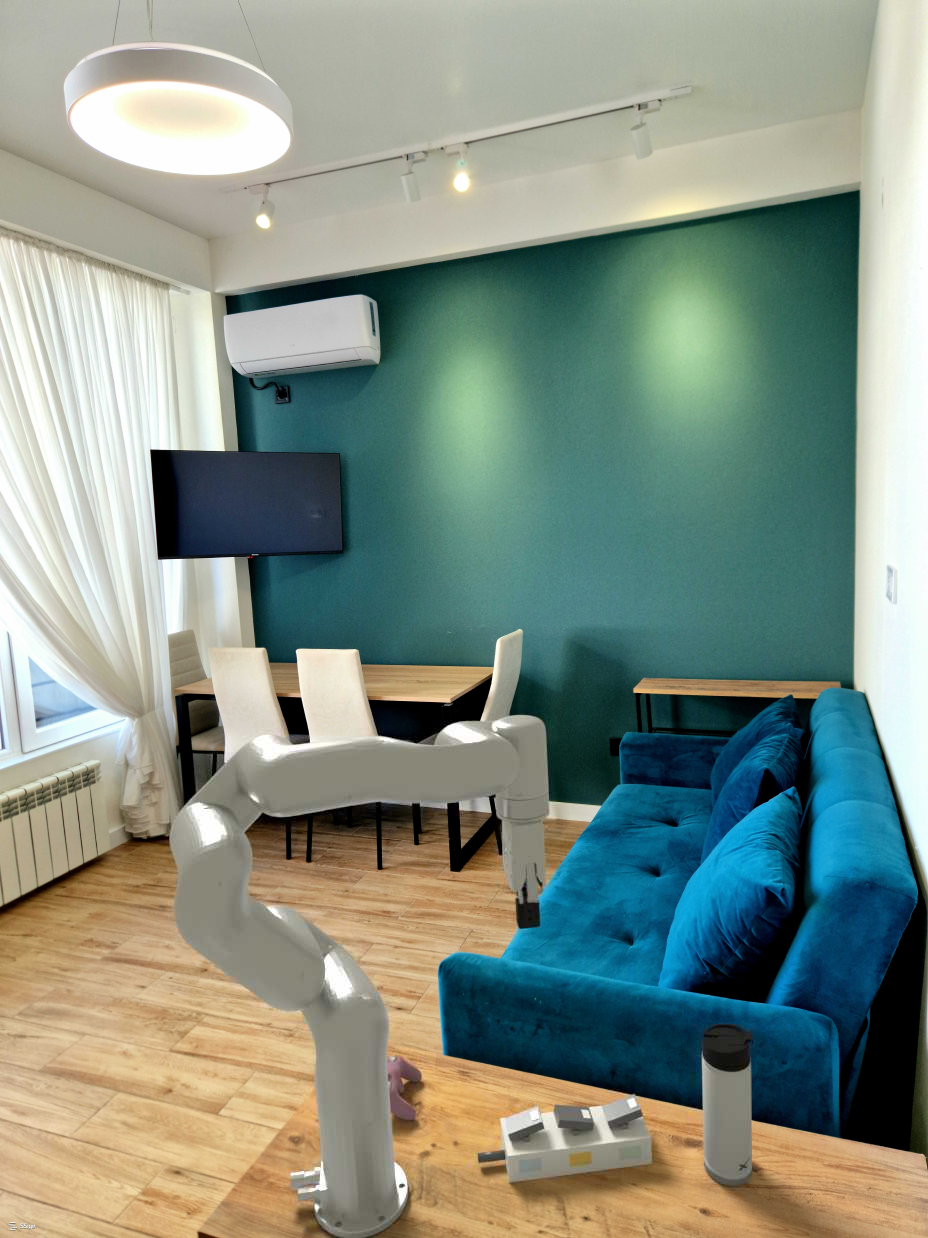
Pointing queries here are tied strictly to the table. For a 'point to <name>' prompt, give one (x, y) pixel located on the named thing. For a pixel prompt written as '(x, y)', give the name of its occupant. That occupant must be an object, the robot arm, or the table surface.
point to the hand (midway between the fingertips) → (528, 925)
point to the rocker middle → (573, 1117)
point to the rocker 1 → (524, 1123)
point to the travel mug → (727, 1103)
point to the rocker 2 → (622, 1111)
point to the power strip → (572, 1148)
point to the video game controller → (401, 1086)
